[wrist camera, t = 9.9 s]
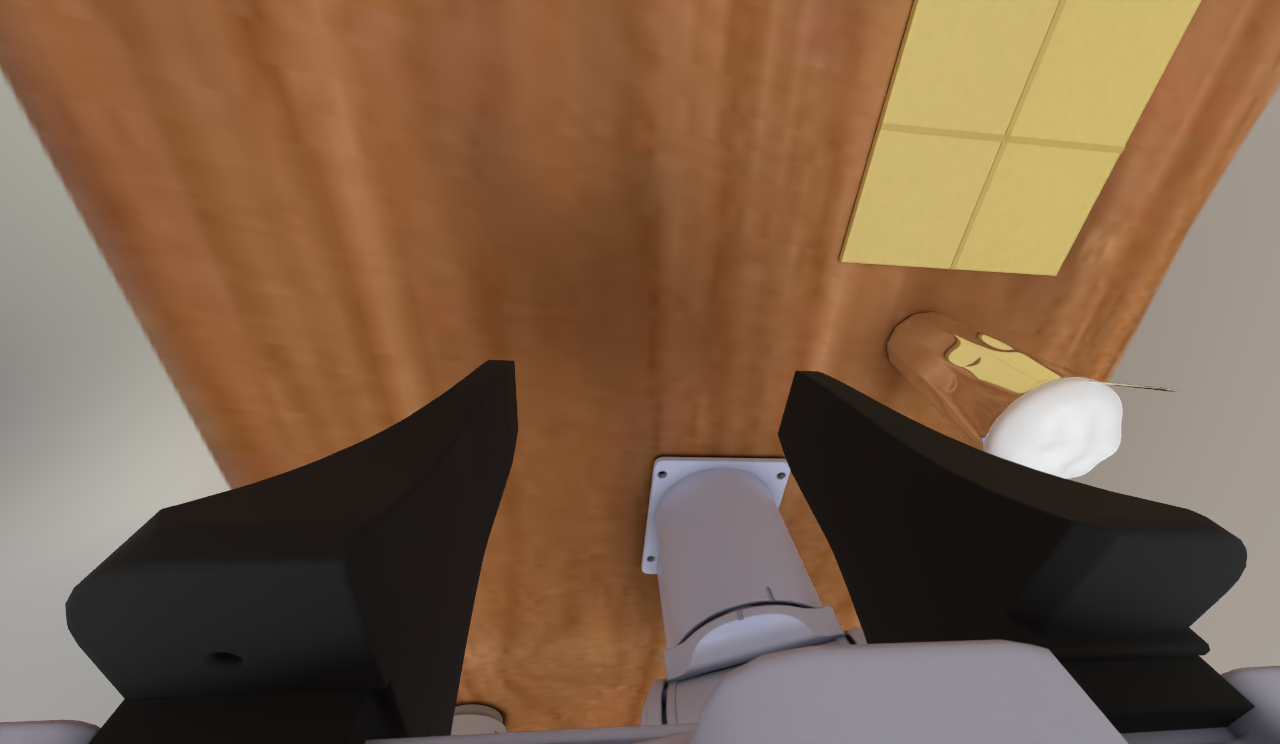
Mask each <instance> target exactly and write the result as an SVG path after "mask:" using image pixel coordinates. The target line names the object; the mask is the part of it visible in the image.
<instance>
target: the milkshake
mask: <svg viewBox="0 0 1280 744" xmlns="http://www.w3.org/2000/svg"><path fill="white" fill-rule="evenodd" d="M887 350H888V356H889V361H890V362H891V363H892V364H893V365H894V366H895V367H896V368H897V369H898V370H899V371H900V372H901V373H902V374H903V375H904V377H905V378H906V379H907V380H908V381H909V382H910V383H911V384H912V385H913V386H914V387H915V388H916V389H917V390H918V391H919V392H920V393H921V394H922V395H923V396H924V397H925V398H926V399H927V400H928V401H929V402H930V403H931V404H932V405H933V406H934V407H935V408H936V409H937V410H938V411H939V412H940V413H941V415H942V416H943V417H944V418H945V419H946V420H947V421H948V422H949V423H950V424H951V425H952V426H953V427H954V428H955V430H956V431H957V432H958V433H959V434H960V435H961V436H962V437H963V438H964V439H965V441H966V442H967V443H968V444H969V445H970V446H972V447H974V448H977V449H979V450H982V451H984V452H987V453H990V454H992V455H995V456H997V457H1000V458H1003V459H1006V460H1009V461H1012V462H1015V463H1018V464H1021V465H1023V466H1026V467H1029V468H1032V469H1035V470H1038V471H1041V472H1045V473H1048V474H1051V475H1054V476H1058V477H1061V478H1064V479H1069V478H1073V477H1078V476H1081V475H1084V474H1086V473H1088V472H1089V471H1090V470H1092V469H1093V468H1094V467H1095V466H1096V465H1097V464H1098V463H1099V462H1101V461H1102V460H1104V459H1106V458H1108V457H1109V456H1111V455H1112V454H1113V453H1115V452H1116V451H1117V449H1118V447H1119V445H1120V442H1121V421H1122V414H1123V409H1122V404H1121V401H1120V398H1119V397H1118V395H1117V394H1116V393H1115V392H1114V391H1113V390H1112V389H1111V388H1110V387H1108V386H1107V385H1105V384H1109V385H1119V386H1128V387H1136V388H1145V389H1155V390H1163V391H1173V392H1179V391H1178V390H1174V389H1167V388H1158V387H1149V386H1139V385H1130V384H1120V383H1111V382H1102V381H1096V380H1094V379H1091V378H1089V377H1087V376H1084V375H1082V374H1079V373H1077V372H1074V371H1072V370H1069V369H1067V368H1064V367H1062V366H1060V365H1057V364H1055V363H1052V362H1050V361H1047V360H1045V359H1042V358H1040V357H1037V356H1035V355H1032V354H1030V353H1027V352H1025V351H1023V350H1020V349H1018V348H1015V347H1013V346H1011V345H1009V344H1006V343H1004V342H1002V341H1000V340H997V339H995V338H993V337H991V336H988V335H986V334H984V333H982V332H979V331H977V330H975V329H973V328H970V327H968V326H966V325H964V324H961V323H959V322H957V321H955V320H952V319H950V318H948V317H946V316H944V315H941V314H939V313H937V312H926V313H918V314H913V315H912V316H910V317H909V318H907V319H906V320H905V321H903V322H902V323H900V324H899V325H897V326H896V327H895V329H894V331H893V333H892V335H891V337H890V339H889V340H888V342H887Z"/></svg>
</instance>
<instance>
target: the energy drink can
mask: <svg viewBox="0 0 1280 744" xmlns="http://www.w3.org/2000/svg"><path fill="white" fill-rule="evenodd" d="M502 722H503V718H502V716H501V714H500V713H499V712H498V711H497V710H495V709H493V708H491V707H488V706H484V705H477V704H468V705H460V706H457V707H455V712H454V718H453V724H452V731H451V735H470V734H489V733H507V729H506V727H505V726H504V724H502Z"/></svg>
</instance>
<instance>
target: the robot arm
mask: <svg viewBox="0 0 1280 744" xmlns="http://www.w3.org/2000/svg"><path fill="white" fill-rule="evenodd" d="M517 433H518V417H517V400H516V382H515V364H514V361H503V360H488V361H487V362H485V363H484V364H482V365H481V366H480V367H478V368H477V369H476V370H474V371H473V372H472V373H470V374H469V375H468V376H466V377H465V378H464V379H463V380H461V381H460V382H458V383H457V384H456V385H454V386H453V387H452V388H450V389H449V390H448V391H446V392H445V393H444V394H442V395H441V396H439V397H438V398H436V399H435V400H433V401H432V402H430V403H429V404H427V405H426V406H424V407H423V408H421V409H419V410H418V411H416V412H415V413H413V414H412V415H410V416H409V417H407V418H405V419H404V420H402V421H400V422H398V423H397V424H395V425H393V426H391V427H389V428H387V429H385V430H384V431H382V432H380V433H378V434H376V435H374V436H372V437H370V438H368V439H366V440H364V441H362V442H360V443H357V444H355V445H353V446H350V447H348V448H346V449H343V450H341V451H339V452H337V453H334V454H332V455H330V456H327V457H325V458H323V459H320V460H318V461H315V462H313V463H310V464H308V465H305V466H302V467H299V468H297V469H294V470H291V471H289V472H286V473H283V474H280V475H277V476H274V477H271V478H268V479H265V480H262V481H259V482H256V483H253V484H250V485H247V486H243V487H240V488H237V489H233V490H229V491H226V492H222V493H219V494H215V495H212V496H208V497H205V498H201V499H197V500H194V501H190V502H187V503H183V504H180V505H176V506H172V507H168V508H164V509H161V510H160V511H159V512H158V513H157V514H156V515H155V516H153V517H152V518H151V519H150V520H149V521H148V522H147V523H146V524H144V525H143V526H142V527H141V528H140V529H139V530H138V531H137V532H136V533H134V534H133V535H132V536H131V537H130V538H129V539H128V540H127V541H126V542H124V543H123V544H122V545H121V546H120V547H119V548H118V549H117V550H116V551H114V552H113V553H112V554H111V555H110V556H109V557H108V558H107V559H106V560H104V561H103V562H102V563H101V564H100V565H99V566H98V567H97V568H96V569H94V570H93V571H92V572H91V573H90V574H89V575H88V576H87V577H86V578H84V580H82V581H81V582H80V583H79V584H78V585H77V586H76V587H74V589H73V591H72V593H71V594H70V596H69V598H68V600H67V602H66V604H65V605H66V606H65V607H66V618H67V625H68V629H69V631H70V632H71V634H72V636H73V637H74V639H75V641H76V642H77V644H78V645H79V647H80V648H81V649H82V650H83V651H84V652H85V653H86V655H87V656H88V657H89V658H90V659H91V660H92V662H93V663H94V664H95V665H96V666H97V667H98V668H99V670H101V672H102V673H103V674H104V675H105V676H106V678H107V679H108V680H109V681H110V682H111V683H112V685H113V686H115V688H116V689H117V690H118V691H119V693H120V694H121V695H122V696H123V697H124V698H125V699H124V701H123V702H122V703H121V704H120V705H119V707H118V708H117V709H116V710H115V712H114V713H113V714H112V715H111V717H110V718H109V719H108V720H107V722H106V723H105V724H104V725H103V727H102V728H100V727H98V726H96V725H93V724H89V723H86V722H82V721H73V720H49V721H25V722H3V723H0V744H1280V666H1270V667H1247V668H1239V669H1235V670H1231V671H1229V672H1226V673H1223V674H1221V675H1220V674H1218V673H1217V672H1216V671H1215V670H1214V669H1213V668H1212V667H1211V666H1210V665H1208V664H1207V663H1206V662H1205V661H1204V660H1203V659H1202V658H1201V657H1199V656H1198V655H1205V654H1207V653H1208V652H1209V651H1210V648H1209V645H1208V644H1207V643H1206V642H1205V641H1204V640H1203V639H1202V638H1201V637H1199V636H1198V635H1197V634H1196V633H1195V632H1194V631H1192V630H1191V629H1190V628H1189V626H1191V625H1192V624H1193V623H1194V622H1195V621H1196V620H1197V619H1198V618H1199V617H1201V616H1202V614H1204V613H1205V612H1206V611H1207V610H1208V609H1209V608H1210V607H1211V606H1212V605H1214V604H1215V603H1216V602H1217V601H1218V600H1219V599H1220V598H1221V597H1222V596H1223V595H1224V594H1226V593H1227V592H1228V591H1229V590H1230V588H1231V587H1232V586H1233V585H1234V584H1235V583H1236V582H1237V581H1238V580H1239V578H1240V576H1241V575H1242V573H1243V571H1244V569H1245V567H1246V560H1247V550H1246V548H1245V546H1244V544H1243V543H1242V541H1241V540H1240V539H1239V538H1237V537H1236V536H1234V535H1233V534H1231V533H1229V532H1228V531H1227V530H1225V529H1224V528H1222V527H1221V526H1219V525H1218V524H1216V523H1215V522H1213V521H1212V520H1210V519H1208V518H1207V517H1205V516H1203V515H1201V514H1198V513H1196V512H1194V511H1191V510H1189V509H1185V508H1180V507H1176V506H1172V505H1167V504H1163V503H1159V502H1154V501H1150V500H1146V499H1141V498H1137V497H1133V496H1129V495H1124V494H1119V493H1115V492H1111V491H1108V490H1104V489H1100V488H1096V487H1093V486H1089V485H1086V484H1082V483H1079V482H1075V481H1071V480H1068V479H1064V478H1061V477H1058V476H1054V475H1051V474H1048V473H1045V472H1041V471H1038V470H1035V469H1032V468H1029V467H1026V466H1023V465H1021V464H1018V463H1015V462H1012V461H1009V460H1006V459H1003V458H1000V457H997V456H995V455H992V454H990V453H987V452H984V451H982V450H979V449H977V448H974V447H972V446H969V445H967V444H965V443H962V442H960V441H957V440H955V439H953V438H950V437H948V436H946V435H943V434H941V433H939V432H937V431H934V430H932V429H930V428H928V427H926V426H924V425H922V424H920V423H918V422H916V421H914V420H912V419H910V418H908V417H906V416H904V415H902V414H900V413H898V412H896V411H894V410H892V409H890V408H889V407H887V406H885V405H883V404H881V403H879V402H877V401H876V400H874V399H872V398H870V397H868V396H866V395H865V394H863V393H861V392H859V391H857V390H855V389H854V388H852V387H850V386H848V385H846V384H844V383H842V382H840V381H838V380H836V379H834V378H832V377H830V376H828V375H826V374H823V373H821V372H817V371H795V375H794V379H793V382H792V386H791V389H790V393H789V396H788V400H787V403H786V407H785V411H784V414H783V418H782V421H781V425H780V428H779V432H778V436H779V439H780V443H781V446H782V449H783V452H784V455H785V457H786V459H776V458H708V457H660V458H658V459H656V460H655V462H654V466H653V474H652V482H651V491H650V499H649V507H648V515H647V523H646V531H645V539H644V547H643V555H642V564H641V567H642V571H643V572H644V573H646V574H657V575H658V583H659V590H660V598H661V606H662V614H663V622H664V630H665V638H666V645H667V650H665V651H664V659H665V667H666V676H667V678H666V679H661V680H656V681H655V682H654V683H653V684H652V685H651V688H650V690H649V694H648V697H647V699H646V701H645V703H644V705H643V709H642V714H641V725H640V726H624V727H605V728H586V729H566V730H547V731H528V732H508V733H489V734H470V735H451V731H452V724H453V718H454V712H455V706H456V700H457V694H458V688H459V682H460V677H461V671H462V665H463V660H464V654H465V648H466V643H467V637H468V632H469V627H470V622H471V616H472V611H473V606H474V601H475V595H476V591H477V586H478V581H479V576H480V571H481V566H482V561H483V557H484V553H485V549H486V546H487V542H488V538H489V535H490V532H491V529H492V526H493V523H494V520H495V516H496V513H497V510H498V507H499V504H500V501H501V498H502V495H503V491H504V488H505V485H506V482H507V479H508V476H509V472H510V469H511V466H512V462H513V457H514V451H515V446H516V439H517ZM661 471H665V472H664V473H662V474H660V473H659V472H661ZM790 471H791V472H792V474H793V476H794V478H795V480H796V482H797V483H798V485H799V487H800V489H801V491H802V493H803V495H804V497H805V499H806V501H807V502H808V504H809V506H810V508H811V510H812V512H813V514H814V516H815V518H816V519H817V521H818V523H819V525H820V527H821V529H822V531H823V533H824V534H825V536H826V538H827V541H828V543H829V545H830V547H831V549H832V551H833V553H834V555H835V558H836V561H837V563H838V566H839V568H840V571H841V573H842V576H843V578H844V581H845V583H846V586H847V588H848V591H849V594H850V596H851V599H852V602H853V605H854V607H855V610H856V613H857V616H858V619H859V621H860V624H861V627H862V629H860V628H857V627H855V628H852V629H849V630H846V631H844V632H843V630H842V628H841V626H840V623H839V621H838V619H837V617H836V615H835V613H834V611H833V609H832V607H831V606H826V607H823V605H822V603H821V601H820V599H819V597H818V595H817V592H816V590H815V588H814V586H813V584H812V582H811V579H810V577H809V575H808V573H807V571H806V568H805V566H804V564H803V562H802V560H801V558H800V555H799V553H798V551H797V549H796V547H795V545H794V542H793V540H792V538H791V536H790V534H789V531H788V529H787V527H786V525H785V523H784V521H783V518H782V516H781V514H780V512H779V510H778V509H779V506H780V503H781V500H782V496H783V493H784V490H785V487H786V484H787V480H788V477H789V474H790ZM779 473H781V474H780V475H778V474H779Z"/></svg>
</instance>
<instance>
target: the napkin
mask: <svg viewBox="0 0 1280 744" xmlns="http://www.w3.org/2000/svg"><path fill="white" fill-rule="evenodd" d="M1200 2H1201V0H914V3H913V7H912V10H911V14H910V17H909V20H908V24H907V27H906V31H905V34H904V38H903V41H902V44H901V48H900V51H899V55H898V58H897V62H896V65H895V69H894V72H893V75H892V79H891V82H890V86H889V89H888V93H887V96H886V99H885V103H884V106H883V110H882V113H881V117H880V120H879V123H878V127H877V130H876V134H875V137H874V141H873V144H872V147H871V151H870V154H869V158H868V161H867V165H866V168H865V172H864V175H863V178H862V182H861V185H860V189H859V192H858V196H857V199H856V202H855V206H854V209H853V213H852V216H851V220H850V223H849V226H848V230H847V233H846V237H845V240H844V244H843V247H842V251H841V254H840V257H839V261H841V262H849V263H864V264H880V265H896V266H912V267H927V268H943V269H953V270H955V269H959V270H974V271H990V272H1006V273H1021V274H1037V275H1053V276H1056V275H1057V273H1058V271H1059V269H1060V267H1061V265H1062V263H1063V261H1064V259H1065V258H1066V256H1067V254H1068V252H1069V250H1070V248H1071V246H1072V244H1073V242H1074V241H1075V239H1076V237H1077V235H1078V233H1079V231H1080V229H1081V227H1082V225H1083V224H1084V222H1085V220H1086V218H1087V216H1088V214H1089V212H1090V210H1091V208H1092V206H1093V205H1094V203H1095V201H1096V199H1097V197H1098V195H1099V193H1100V191H1101V189H1102V188H1103V186H1104V184H1105V182H1106V180H1107V178H1108V176H1109V174H1110V172H1111V170H1112V169H1113V167H1114V165H1115V163H1116V161H1117V159H1118V157H1119V155H1120V153H1122V152H1123V150H1124V149H1125V147H1124V146H1125V144H1126V142H1127V140H1128V138H1129V136H1130V135H1131V133H1132V131H1133V129H1134V127H1135V125H1136V123H1137V121H1138V119H1139V117H1140V116H1141V114H1142V112H1143V110H1144V108H1145V106H1146V104H1147V102H1148V100H1149V99H1150V97H1151V95H1152V93H1153V91H1154V89H1155V87H1156V85H1157V83H1158V81H1159V80H1160V78H1161V76H1162V74H1163V72H1164V70H1165V68H1166V66H1167V64H1168V63H1169V61H1170V59H1171V57H1172V55H1173V53H1174V51H1175V49H1176V47H1177V46H1178V44H1179V42H1180V40H1181V38H1182V36H1183V34H1184V32H1185V30H1186V28H1187V27H1188V25H1189V23H1190V21H1191V19H1192V17H1193V15H1194V13H1195V11H1196V10H1197V8H1198V6H1199V4H1200Z"/></svg>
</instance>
